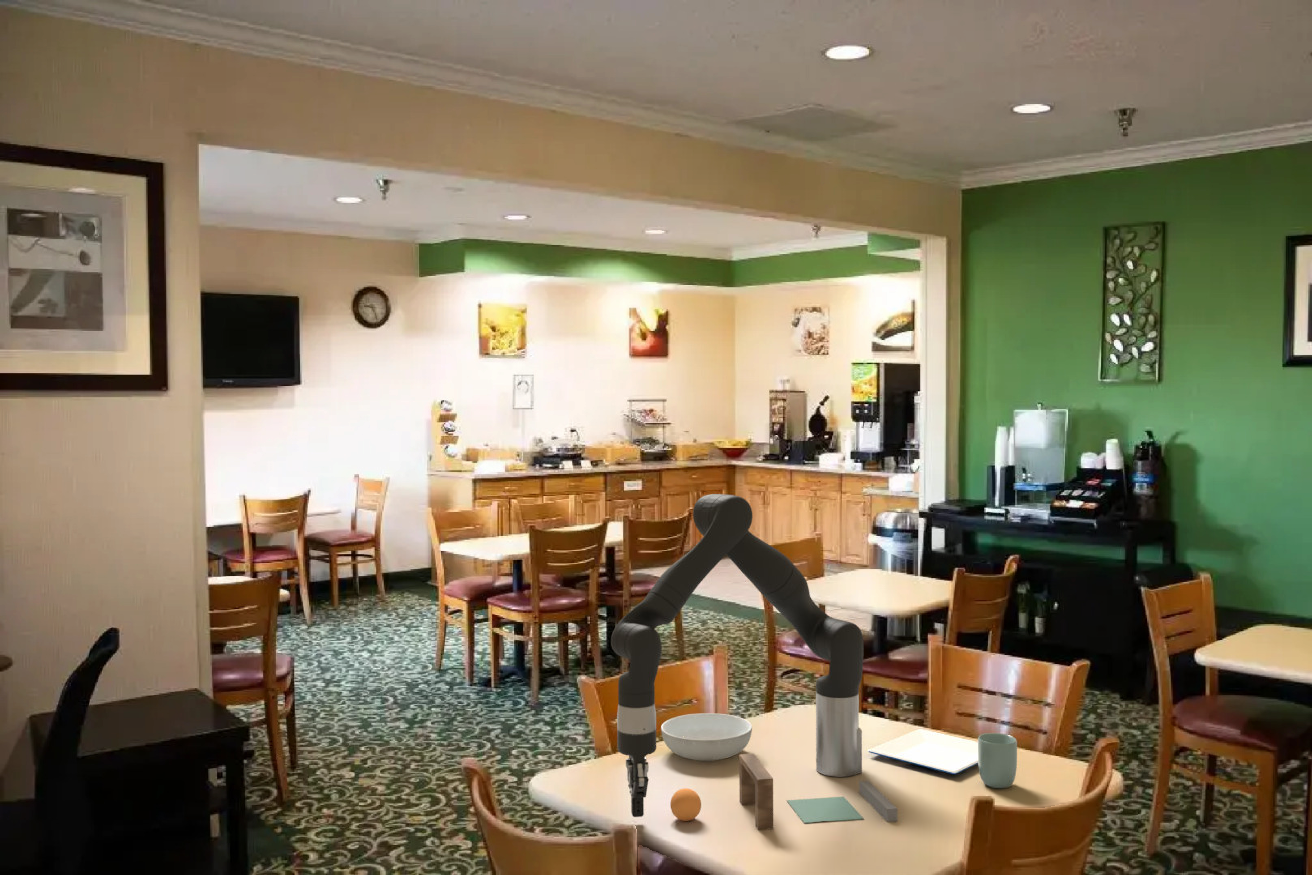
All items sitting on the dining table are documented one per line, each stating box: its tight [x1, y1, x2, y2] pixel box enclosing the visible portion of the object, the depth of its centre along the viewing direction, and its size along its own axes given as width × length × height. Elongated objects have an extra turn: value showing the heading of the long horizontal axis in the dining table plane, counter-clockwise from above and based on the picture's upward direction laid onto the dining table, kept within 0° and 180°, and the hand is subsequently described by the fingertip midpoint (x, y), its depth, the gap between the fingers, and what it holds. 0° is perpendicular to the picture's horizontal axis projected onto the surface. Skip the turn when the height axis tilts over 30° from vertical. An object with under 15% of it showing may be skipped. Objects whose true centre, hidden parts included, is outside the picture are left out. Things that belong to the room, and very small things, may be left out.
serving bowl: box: [660, 712, 753, 762], centre depth 255 cm, size 21×21×7 cm
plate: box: [867, 728, 978, 775], centre depth 253 cm, size 22×22×2 cm
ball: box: [669, 787, 702, 822], centre depth 216 cm, size 6×6×6 cm
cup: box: [977, 732, 1018, 789], centre depth 234 cm, size 8×8×10 cm
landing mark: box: [786, 796, 865, 824], centre depth 220 cm, size 12×12×1 cm
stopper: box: [858, 779, 898, 823], centre depth 222 cm, size 2×16×2 cm, turn 9°
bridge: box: [738, 753, 774, 831], centre depth 218 cm, size 3×15×10 cm, turn 9°
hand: (637, 815), depth 214 cm, fingers closed
